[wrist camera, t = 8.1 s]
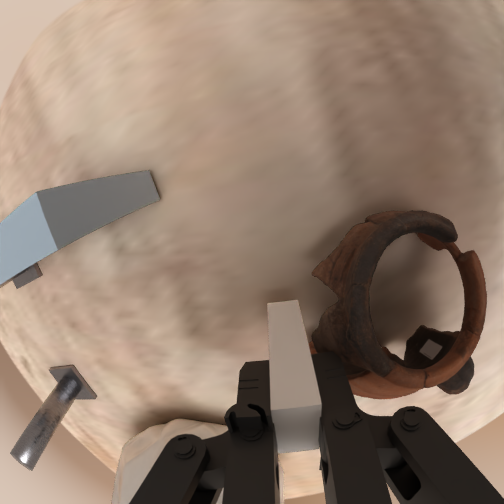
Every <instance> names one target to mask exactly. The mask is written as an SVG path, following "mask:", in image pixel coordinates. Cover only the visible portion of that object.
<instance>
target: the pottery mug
mask: <svg viewBox="0 0 504 504" xmlns="http://www.w3.org/2000/svg"><path fill="white" fill-rule="evenodd" d="M408 233H418V234H417V235H418V237H419V238H420V239H421V240H422V241H423V242H425V243H426V244H427V245H429V246H430V247H432V248H433V249H435V250H438V251H439V250H442V249H447V250H448V251H449V252H450V253H451V255H452V257H453V258H454V260H455V262H456V264H457V266H458V269H459V271H460V275H461V278H462V282H463V287H464V300H465V307H464V317H463V322H462V328H461V331H455V332H450V331H444V332H441V331H438V330H435V329H433V328H427V327H426V326H424V325H421V326H420V327H419V328H418V329H417V331H416V332H415V333H414V335H413V336H412V337H410V338H409V339H408V340H407V342H406V351H405V356H404V360H402V359H400V358H399V357H398V356H397V355H395V354H392V353H391V352H390V351H389V350H388V349H387V348H386V347H382V348H381V346H380V344H379V343H378V341H377V338H376V336H375V333H374V329H373V325H372V321H371V316H370V307H369V287H370V284H371V281H372V277H373V273H374V271H375V269H376V266H377V263H378V261H379V259H380V257H381V255H382V253H383V252H384V250H385V249H386V247H387V246H388V245H390V244H391V243H392V242H393V241H394V240H396V239H397V238H399V237H400V236H402V235H405V234H408ZM457 238H458V235H457V232H456V230H455V228H454V225H453V223H452V222H451V221H450V220H448V219H446V218H444V217H443V216H440V215H438V214H434V213H429V212H426V211H408V212H403V211H386V212H382V213H378V214H374V215H371V216H368V217H367V218H366V220H365V223H361V224H357V225H355V226H354V227H353V228H352V229H351V230H350V231H349V232H348V233H347V234H346V236H345V238H344V239H343V240H342V241H341V243H340V244H339V246H338V247H337V248H336V249H335V250H334V251H333V252H332V253H331V254H330V255H329V256H328V257H327V258H326V259H325V260H324V261H322V262H321V263H320V264H319V265H318V266H317V267H316V268H315V269H314V271H313V272H312V275H313V276H314V277H318V278H319V279H320V280H321V281H322V282H323V283H324V284H325V285H327V286H328V287H329V288H330V289H331V290H332V291H333V292H334V293H335V294H336V295H337V296H338V298H339V301H338V302H337V303H336V304H334V305H332V306H331V307H329V308H328V309H327V310H326V312H325V313H324V314H323V315H322V317H321V319H320V323H319V326H318V328H317V329H316V330H315V331H314V332H313V333H312V342H310V343H309V349H310V353H311V354H317V353H323V352H330V351H333V352H334V353H335V354H337V355H338V356H339V357H340V358H341V361H342V364H343V366H344V369H345V372H346V376H347V378H348V381H349V384H350V387H351V390H352V393H353V394H354V395H357V396H361V397H368V398H373V399H392V398H398V397H402V396H406V395H409V394H412V393H415V392H417V391H418V390H419V389H423V388H430V387H433V386H436V385H437V386H438V387H439V388H440V389H442V390H443V391H444V392H446V393H448V394H459V393H461V392H463V391H464V390H466V389H467V388H468V386H469V383H470V381H471V379H472V378H473V375H474V363H473V360H472V358H471V357H470V356H471V355H472V353H473V351H474V350H475V348H476V346H477V344H478V341H479V339H480V335H481V333H482V330H483V325H484V321H485V315H486V305H487V293H486V286H485V284H486V283H485V278H484V273H483V269H482V266H481V263H480V260H479V258H478V256H477V254H476V253H475V251H474V250H471V251H467V252H465V253H461V252H460V250H459V249H458V247H457V246H456V244H455V243H454V242H455V241H456V240H457Z"/></svg>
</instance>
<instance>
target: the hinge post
mask: <svg viewBox="0 0 504 504" xmlns="http://www.w3.org/2000/svg"><path fill="white" fill-rule="evenodd" d="M40 276H42V273H41V271H40V269H39V267H38V265H37V262H36V263H34V264H33V265H31V266H29V267H28V268H26V269H24V270H23V271H21V272H20V273H18V274H16V275H15V276H13V277H12V278H10V279H8V280H7V281H5V282H4V283H2V284H1V285H0V288H1V287H3V286H4V285H6V284H7V283H9V282H11V281H12V280H13V282H14V284H15V286H16V288H17V289H18V288H20V287H22V286H23V285H25V284H27V283H29V282H31V281H33V280H35V279H37V278H38V277H40Z"/></svg>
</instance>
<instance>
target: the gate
mask: <svg viewBox="0 0 504 504" xmlns="http://www.w3.org/2000/svg"><path fill="white" fill-rule="evenodd" d="M158 200H160V198H159V195H158V193H157V190H156V187H155V185H154V182H153V180H152V177H151V174H150V172H149V170H148V171H140V172H134V173H127V174H121V175H115V176H109V177H103V178H98V179H92V180H87V181H82V182H77V183H72V184H68V185H63V186H59V187H54V188H50V189H46V190H42V191H38V192H35V193H34V194H33V195H32V196H30V197H29V198H28V199H27V200H26V201H24V202H23V203H22V204H21V205H20V206H19V207H17V208H16V209H15V210H14V211H13V212H12V213H11V214H10V215H8V216H7V217H6V218H5V219H4V220H3V221H2V222H1V223H0V285H1V284H2V283H4V282H5V281H7V280H8V279H10V278H12V277H13V276H15V275H16V274H18V273H20V272H21V271H23V270H24V269H26V268H28V267H29V266H31V265H33V264H34V263H36V262H38V261H40V260H41V259H43V258H45V257H46V256H48V255H50V254H52V253H54V252H55V251H57V250H59V249H61V248H63V247H64V246H66V245H68V244H70V243H72V242H74V241H75V240H77V239H79V238H81V237H83V236H85V235H87V234H89V233H91V232H93V231H95V230H97V229H99V228H101V227H103V226H105V225H107V224H109V223H111V222H113V221H115V220H117V219H119V218H121V217H123V216H125V215H127V214H130V213H132V212H134V211H136V210H138V209H140V208H143V207H145V206H147V205H149V204H152V203H154V202H156V201H158Z"/></svg>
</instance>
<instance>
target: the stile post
mask: <svg viewBox="0 0 504 504" xmlns="http://www.w3.org/2000/svg"><path fill="white" fill-rule="evenodd" d="M49 371H50V373H51V374H52V375H53V377H54V378H55V379H56V381H57V382H58V384H57V385H56V387H55V388H54V389H53V391H52V392H51V393H50V395H49V396H48V398H47V399H46V400H45V402H44V403H43V404H42V406H41V407H40V409H39V410H38V412H37V413H36V414H35V416H34V418H33V419H32V420H31V422H30V423H29V425H28V426H27V428H26V429H25V431H24V432H23V434H22V435H21V437H20V438H19V440H18V441H17V443H16V444H15V446H14V448H13V449H12V451H11V452H10V454H11V455H12V456H13V457H14V458H15V459H16V460H17V461H18V462H19V463H21V464H22V465H23V466H25V467H26V468H27V469H29V470H31V471H32V470H33V469H34V467H35V465H36V463H37V461H38V460H39V458H40V456H41V454H42V453H43V451H44V449H45V447H46V446H47V444H48V442H49V441H50V439H51V437H52V436H53V434H54V432H55V431H56V429H57V427H58V426H59V424H60V422H61V421H62V419H63V418H64V416H65V414H66V413H67V411H68V410H69V408H70V406H71V405H72V403H73V402H74V400H75V399H96V397H97V396H96V394H95V393H94V392H93V391H92V389H91V388H90V387H89V386H88V384H87V383H86V382H85V380H84V379H83V378H82V376H81V375H80V374H79V372H78V371H77V370H76V368H75V367H74V365H69V366H61V367H52V368H50V369H49Z"/></svg>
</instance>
